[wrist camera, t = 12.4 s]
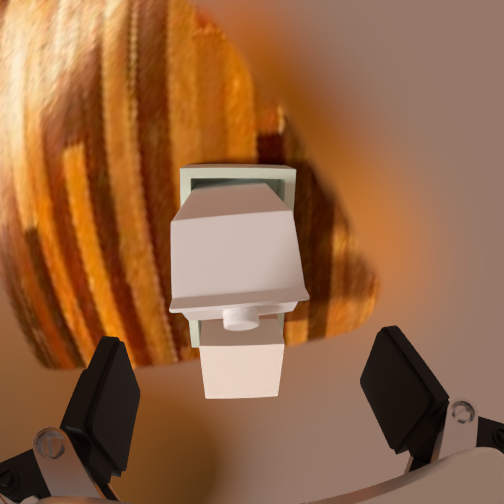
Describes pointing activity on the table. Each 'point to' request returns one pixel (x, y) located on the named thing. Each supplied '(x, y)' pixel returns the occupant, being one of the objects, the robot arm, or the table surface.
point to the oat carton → (241, 359)
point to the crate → (193, 174)
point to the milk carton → (235, 255)
